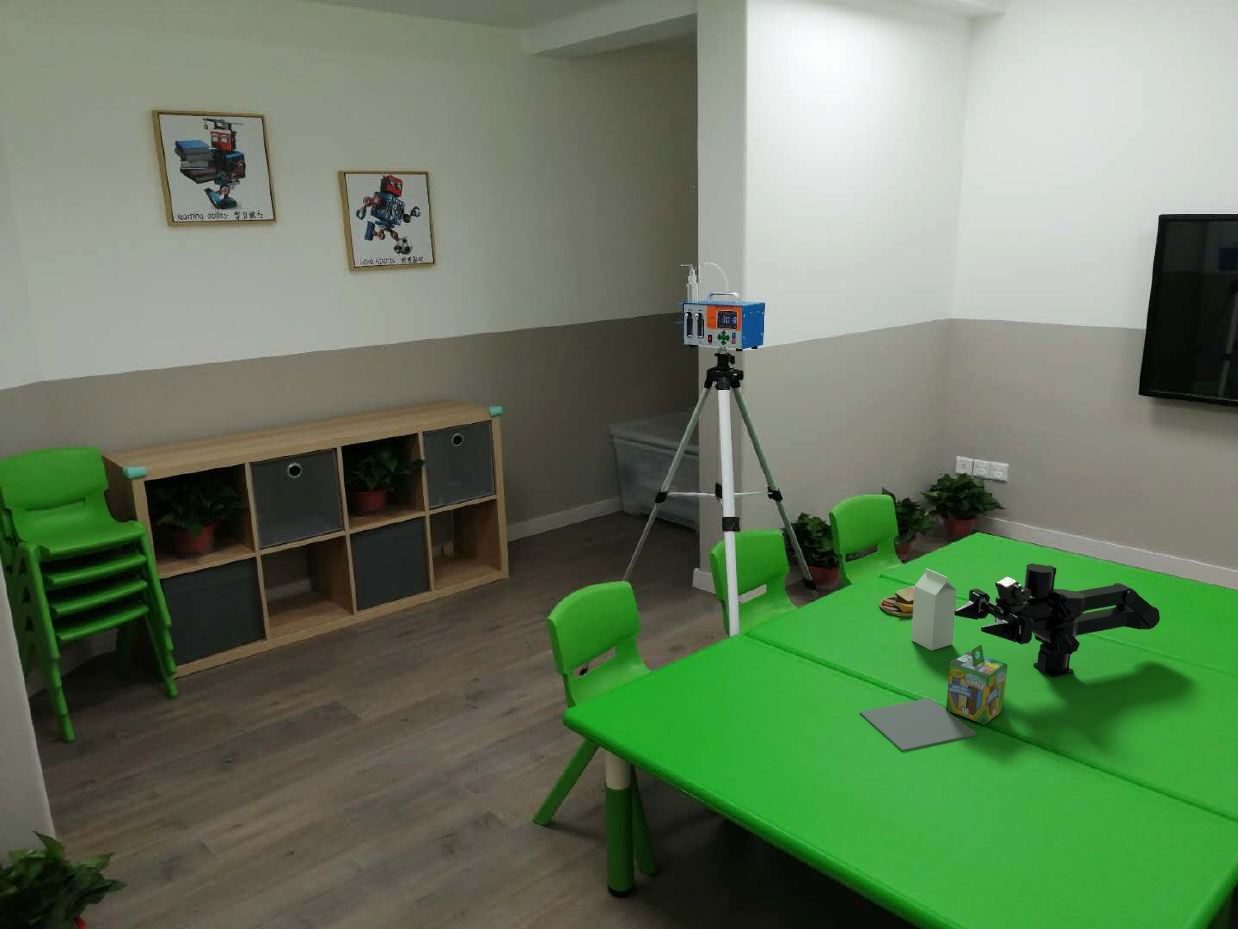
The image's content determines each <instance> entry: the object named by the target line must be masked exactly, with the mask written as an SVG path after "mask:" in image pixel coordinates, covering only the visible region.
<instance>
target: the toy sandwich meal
mask: <svg viewBox="0 0 1238 929" xmlns="http://www.w3.org/2000/svg"><path fill="white" fill-rule="evenodd" d="M914 588H915V585H911V586H909V587H906V588H902V589H898V590H896V591H894V595H893V596H892V595H891V596H887V597H884V598H882V599H881V600H880V601H879V606H880V608H881V609H883V611H884V612H886V613H888V614H890V615H893V616H899V617H913V604H914Z"/></svg>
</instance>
